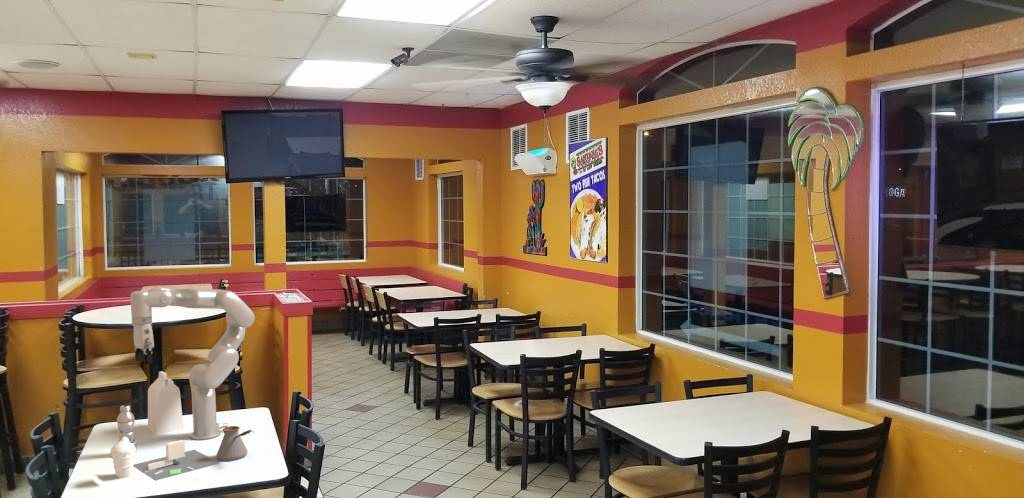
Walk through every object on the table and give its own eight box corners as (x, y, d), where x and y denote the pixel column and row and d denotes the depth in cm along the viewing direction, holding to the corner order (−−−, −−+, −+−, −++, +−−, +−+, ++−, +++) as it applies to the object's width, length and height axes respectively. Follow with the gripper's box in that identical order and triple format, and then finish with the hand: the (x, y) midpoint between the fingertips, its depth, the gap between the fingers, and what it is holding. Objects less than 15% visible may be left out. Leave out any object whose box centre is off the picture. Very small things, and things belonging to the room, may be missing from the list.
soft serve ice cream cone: (119, 485, 272) (117, 442, 271) (107, 481, 277) (104, 438, 276) (141, 478, 279) (139, 435, 278) (128, 474, 284) (126, 432, 283)
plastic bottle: (129, 457, 303) (126, 408, 302) (114, 456, 304) (112, 407, 303) (140, 451, 309) (137, 404, 308) (126, 451, 311) (123, 403, 309)
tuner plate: (194, 453, 306) (194, 448, 306) (220, 466, 289) (220, 462, 289) (132, 468, 289) (131, 464, 289) (155, 484, 272) (155, 479, 272)
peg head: (182, 460, 292) (181, 439, 292) (185, 462, 290) (184, 441, 290) (147, 469, 283) (146, 448, 282) (150, 471, 281) (148, 449, 281)
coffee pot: (211, 461, 296) (209, 423, 295) (238, 453, 305) (236, 417, 304) (239, 473, 282) (237, 434, 281) (266, 464, 291) (265, 426, 290)
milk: (147, 429, 341) (144, 372, 340) (174, 423, 349) (171, 368, 347) (156, 434, 332) (153, 376, 331) (183, 429, 340) (180, 372, 339)
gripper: (159, 321, 306) (161, 363, 307) (143, 317, 318) (145, 357, 319) (139, 324, 300) (142, 366, 301) (124, 320, 313) (127, 360, 314)
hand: (144, 362), depth 310 cm, fingers open, 9 cm apart
